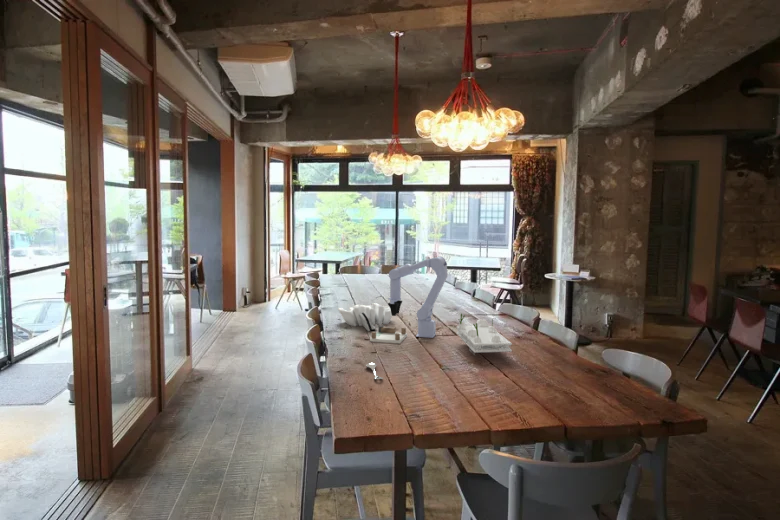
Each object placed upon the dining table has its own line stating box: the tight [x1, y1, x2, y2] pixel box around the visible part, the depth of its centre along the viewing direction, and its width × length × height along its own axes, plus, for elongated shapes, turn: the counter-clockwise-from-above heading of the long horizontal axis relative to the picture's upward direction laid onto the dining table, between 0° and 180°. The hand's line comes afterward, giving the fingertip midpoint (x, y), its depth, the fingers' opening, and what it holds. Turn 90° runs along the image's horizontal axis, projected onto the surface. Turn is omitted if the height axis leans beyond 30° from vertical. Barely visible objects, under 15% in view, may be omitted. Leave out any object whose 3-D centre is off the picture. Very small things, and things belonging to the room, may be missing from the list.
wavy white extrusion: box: [337, 302, 393, 327], centre depth 288 cm, size 35×16×11 cm, turn 104°
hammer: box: [377, 325, 397, 333], centre depth 257 cm, size 9×3×3 cm, turn 74°
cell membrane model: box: [454, 313, 513, 357], centre depth 225 cm, size 35×21×17 cm, turn 5°
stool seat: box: [369, 327, 408, 344], centre depth 250 cm, size 16×16×4 cm
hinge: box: [359, 312, 377, 332], centre depth 273 cm, size 17×5×10 cm, turn 16°
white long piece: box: [365, 362, 384, 380], centre depth 193 cm, size 20×4×5 cm
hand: (395, 314), depth 261 cm, fingers open, 6 cm apart
